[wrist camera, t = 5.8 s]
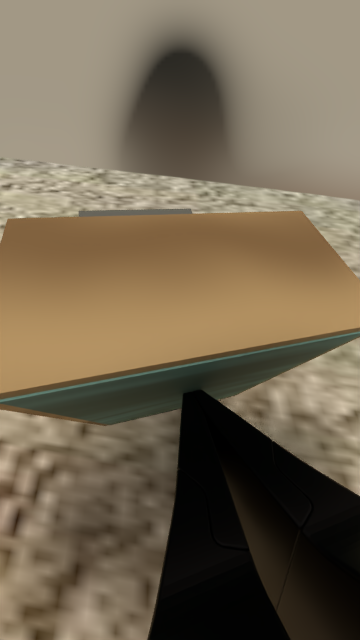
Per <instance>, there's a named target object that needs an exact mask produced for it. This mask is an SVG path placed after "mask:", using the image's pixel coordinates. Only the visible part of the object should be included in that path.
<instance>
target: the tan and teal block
mask: <svg viewBox="0 0 360 640" xmlns="http://www.w3.org/2000/svg"><path fill="white" fill-rule="evenodd" d="M359 337H360V280H359V279H358V278H357V277H356V275H355V274H354V273H353V272H352V271H351V269H350V268H349V267H348V266H347V265H346V264H345V262H344V261H343V260H342V259H341V258H340V256H339V255H338V254H337V253H336V252H335V250H334V249H333V248H332V247H331V246H330V244H329V243H328V242H327V241H326V240H325V238H324V237H323V236H322V235H321V234H320V232H319V231H318V230H317V229H316V228H315V226H314V225H313V224H312V223H311V222H310V220H309V219H308V218H307V217H306V216H305V214H304V213H303V212H302V211H281V212H243V213H205V214H168V215H130V216H93V217H55V218H18V219H8V220H7V223H6V227H5V230H4V233H3V237H2V240H1V243H0V409H1V410H8V411H14V412H20V413H27V414H33V415H39V416H46V417H52V418H58V419H65V420H71V421H77V422H83V423H90V424H96V425H102V426H106V425H112V424H116V423H120V422H125V421H129V420H133V419H137V418H142V417H146V416H150V415H154V414H159V413H163V412H167V411H171V410H176V409H180V408H182V396H183V393H186V392H193V391H196V390H200V389H201V390H203V391H205V392H206V393H207V394H209V395H210V396H212V397H213V398H214V399H216V400H218V399H222V398H226V397H231V396H234V395H237V394H239V393H241V392H244V391H246V390H248V389H250V388H252V387H254V386H256V385H258V384H261V383H263V382H265V381H267V380H269V379H271V378H273V377H276V376H278V375H280V374H282V373H284V372H286V371H288V370H290V369H293V368H295V367H297V366H299V365H301V364H303V363H305V362H307V361H310V360H312V359H314V358H316V357H318V356H320V355H322V354H325V353H327V352H329V351H331V350H333V349H335V348H337V347H339V346H342V345H344V344H346V343H348V342H350V341H352V340H354V339H356V338H359Z"/></svg>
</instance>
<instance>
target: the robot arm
mask: <svg viewBox="0 0 360 640" xmlns="http://www.w3.org/2000/svg"><path fill="white" fill-rule="evenodd" d="M177 469H178V470H177V479H176V490H175V500H174V507H173V513H172V519H171V525H170V531H169V536H168V541H167V547H166V552H165V557H164V562H163V568H162V573H161V578H160V584H159V589H158V594H157V599H156V604H155V609H154V614H153V618H152V622H151V627H150V631H149V635H148V639H147V640H360V496H359V495H357V494H355V493H354V492H352V491H350V490H349V489H347V488H346V487H344V486H342V485H341V484H339V483H337V482H336V481H334V480H332V479H331V478H329V477H327V476H326V475H324V474H322V473H321V472H319V471H318V470H316V469H314V468H313V467H311V466H310V465H308V464H307V463H305V462H303V461H302V460H300V459H299V458H297V457H296V456H294V455H293V454H291V453H290V452H288V451H287V450H286V449H284V448H283V447H281V446H280V445H279V444H277V443H276V442H274V441H272V440H271V439H270V438H269V437H267V436H266V435H264V434H263V433H262V432H260V431H259V430H258V429H256V428H255V427H253V426H252V425H251V424H249V423H248V422H246V421H245V420H244V419H242V418H241V417H239V416H238V415H237V414H235V413H234V412H232V411H231V410H230V409H228V408H227V407H226V406H224V405H223V404H221V403H220V402H219V401H217V400H216V399H214V398H213V397H212V396H210V395H209V394H207V393H206V392H205V391H203V390H201V389H200V390H196V391H193V392H186V393H183V396H182V410H181V424H180V438H179V453H178V467H177Z"/></svg>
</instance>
